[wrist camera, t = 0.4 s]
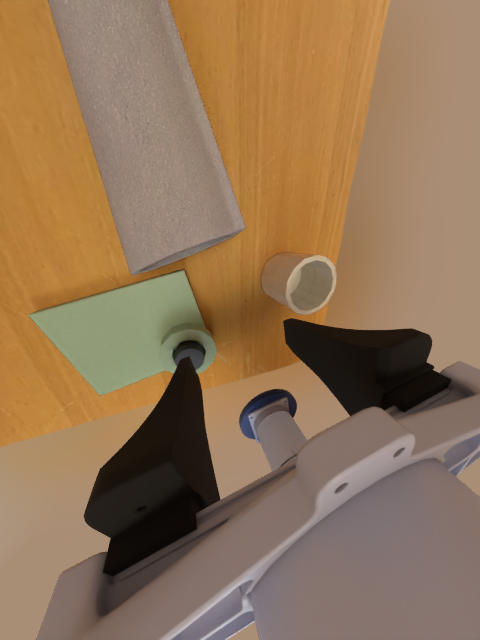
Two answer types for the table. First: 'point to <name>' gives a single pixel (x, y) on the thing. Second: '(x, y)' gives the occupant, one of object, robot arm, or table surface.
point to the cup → (299, 281)
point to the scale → (128, 331)
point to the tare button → (190, 353)
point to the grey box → (147, 129)
